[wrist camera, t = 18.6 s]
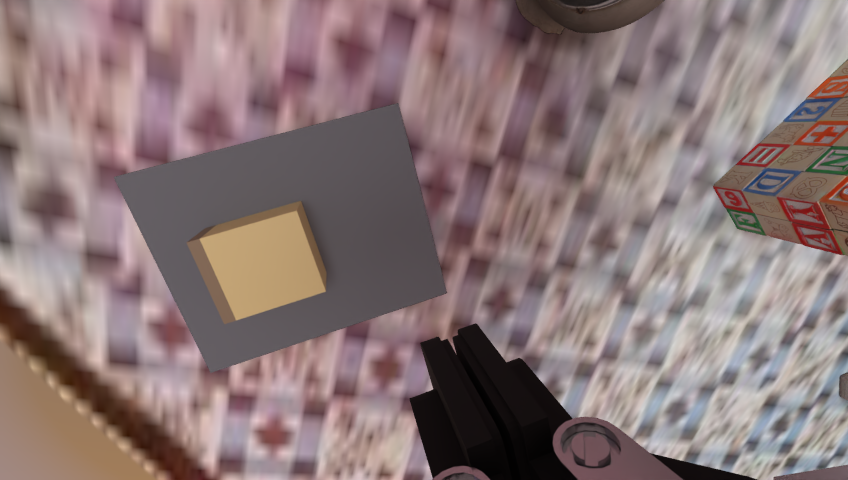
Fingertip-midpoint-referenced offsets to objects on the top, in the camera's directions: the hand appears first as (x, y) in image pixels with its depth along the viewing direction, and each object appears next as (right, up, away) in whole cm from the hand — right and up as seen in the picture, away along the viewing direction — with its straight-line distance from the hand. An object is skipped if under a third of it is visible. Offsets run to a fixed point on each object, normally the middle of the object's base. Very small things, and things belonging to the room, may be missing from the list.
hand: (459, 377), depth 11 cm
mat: (-11, +4, +20) cm, 23 cm away
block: (-9, +4, +18) cm, 20 cm away
